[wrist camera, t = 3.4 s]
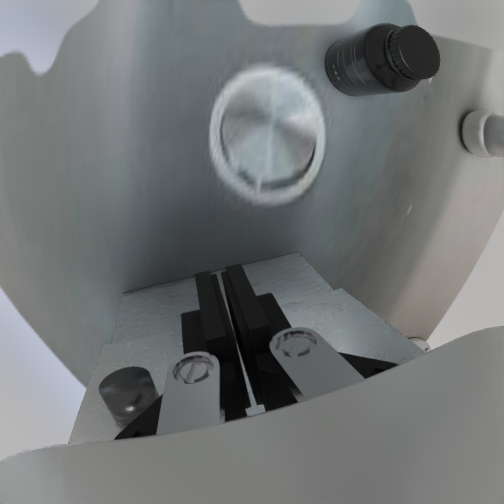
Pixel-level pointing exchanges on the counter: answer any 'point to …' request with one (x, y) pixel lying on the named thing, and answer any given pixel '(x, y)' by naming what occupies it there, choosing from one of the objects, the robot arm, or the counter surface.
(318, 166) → the counter surface
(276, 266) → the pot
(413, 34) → the supplement bottle
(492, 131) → the plastic bottle
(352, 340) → the lid
